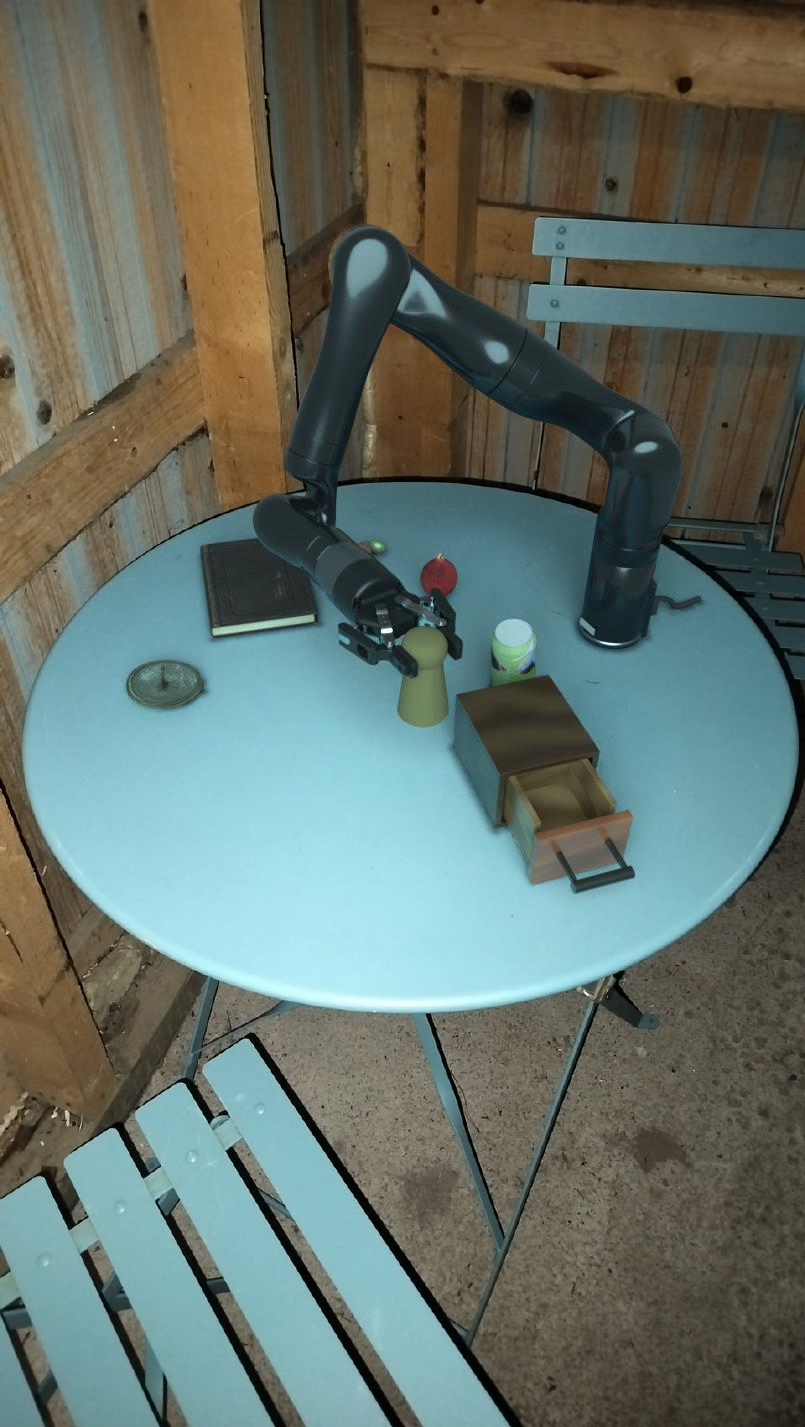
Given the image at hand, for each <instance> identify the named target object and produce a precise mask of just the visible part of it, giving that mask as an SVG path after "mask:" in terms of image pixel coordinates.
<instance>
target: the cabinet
mask: <svg viewBox="0 0 805 1427" xmlns="http://www.w3.org/2000/svg"><path fill="white" fill-rule="evenodd" d="M454 715H455V716H454V730H453V731H454V734H453V735H454V736H453V750H454V752H455V754H456V756H457V758H458V760H459V762H460V764H461V767H462V768H463V770H464V772H465V774H466V776H467V778H468V780H469V782H470V783H471V786H472V788H473V789H474V791H475V794H476V795H477V798H478V799H479V801H480V803H481V806H482V807H483V809H484V812H485V813H486V815H487V817H488V819H489V821H490V823H491V825H492V827H493V829H494V830H497V829H501V828H504V827H509V826H508V824H507V822H506V821H505V819H504V817H503V815H502V808H503V799H504V790H505V780H506V777H510V776H514V775H519V774H523V773H527V772H531V771H535V770H540V769H544V768H548V767H552V766H557V765H561V764H565V763H569V762H573V761H578V760H582V759H586V758H588V760H589V761H590V763H591V765H592V766H593V768H594V769H595V771H596V772H597V767H598V762H599V758H600V752H601V750H600V749H599V747H598V746H597V744H596V743H595V741H594V740H593V738H592V737H591V735H590V734H589V732H588V731H587V729H586V728H585V727H584V725H583V724H582V722H581V721H580V719H579V718H578V716H577V715H576V713H575V712H574V710H573V708H572V707H571V706H570V703H569V702H568V701H567V700H566V698H565V697H564V695H563V694H562V692H561V691H560V689H559V688H558V686H557V685H556V683H555V681H554V680H553V679H552V677H551V676H550V675H549V674H545V675H540V676H536V677H534V678H530V679H525V680H520V681H516V682H511V683H506V684H501V685H497V686H492V685H491V686H488V687H482V688H478V689H473V690H469V691H464V692H460V693H456V696H455V714H454Z"/></svg>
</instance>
